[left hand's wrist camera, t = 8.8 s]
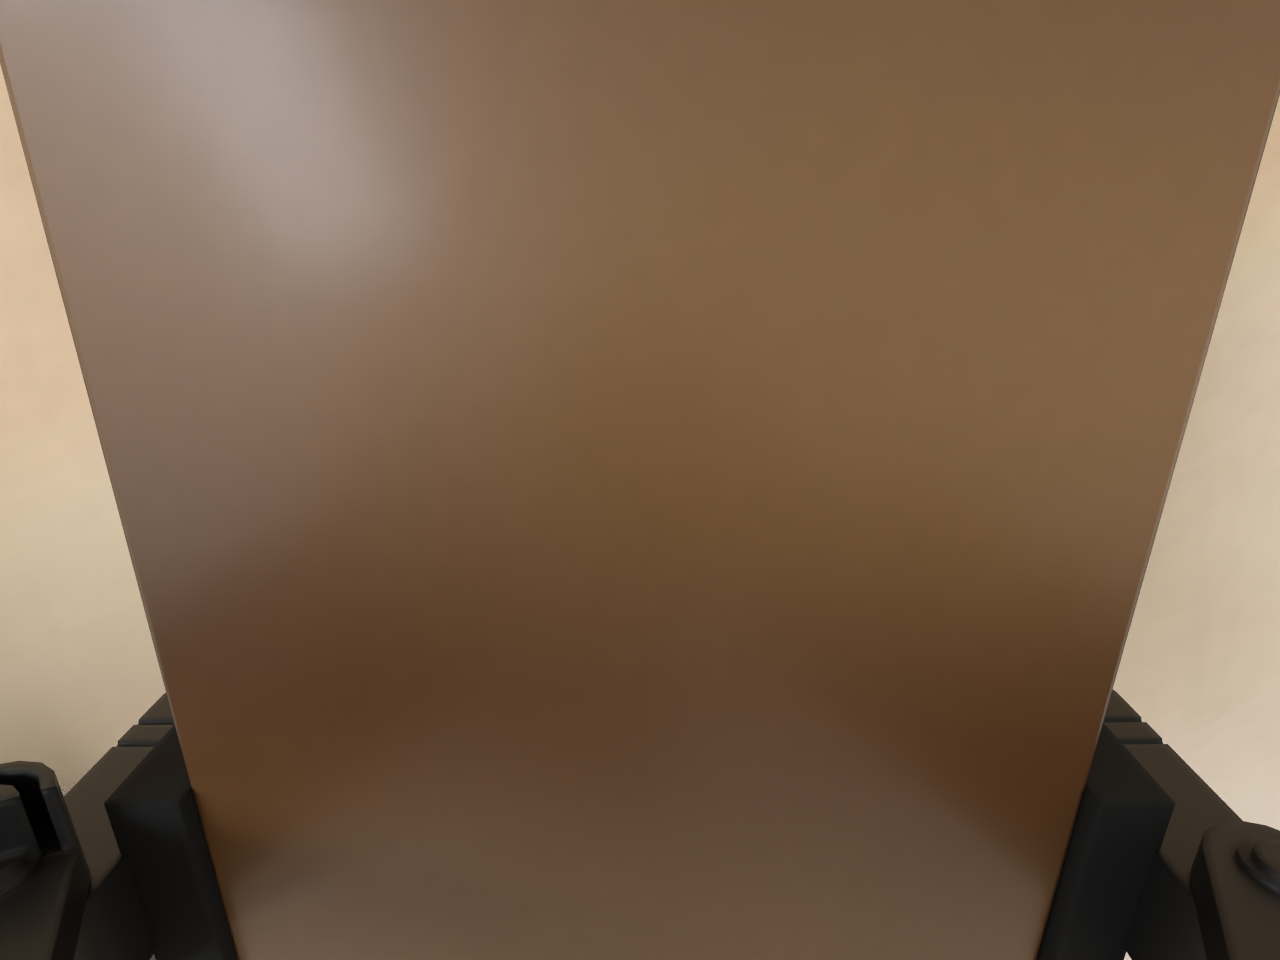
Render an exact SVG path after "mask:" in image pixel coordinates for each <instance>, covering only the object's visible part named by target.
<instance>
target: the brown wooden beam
mask: <svg viewBox="0 0 1280 960" xmlns="http://www.w3.org/2000/svg"><path fill="white" fill-rule="evenodd" d="M0 64H1V67H2V71H3V75H4V79H5V82H6V86H7V90H8V94H9V98H10V101H11V105H12V109H13V113H14V117H15V120H16V124H17V128H18V132H19V136H20V139H21V143H22V147H23V151H24V155H25V158H26V162H27V166H28V170H29V173H30V177H31V181H32V185H33V189H34V192H35V196H36V200H37V204H38V208H39V211H40V215H41V219H42V223H43V227H44V230H45V234H46V238H47V242H48V245H49V249H50V253H51V257H52V261H53V264H54V268H55V272H56V276H57V280H58V283H59V287H60V291H61V295H62V299H63V302H64V306H65V310H66V314H67V317H68V321H69V325H70V329H71V333H72V336H73V340H74V344H75V348H76V352H77V355H78V359H79V363H80V367H81V371H82V374H83V378H84V382H85V386H86V389H87V393H88V397H89V401H90V405H91V408H92V412H93V416H94V420H95V424H96V427H97V431H98V435H99V439H100V443H101V446H102V450H103V454H104V458H105V462H106V465H107V469H108V473H109V477H110V480H111V484H112V488H113V492H114V496H115V499H116V503H117V507H118V511H119V515H120V518H121V522H122V526H123V530H124V534H125V537H126V541H127V545H128V549H129V552H130V556H131V560H132V564H133V568H134V571H135V575H136V579H137V583H138V587H139V590H140V594H141V598H142V602H143V606H144V609H145V613H146V617H147V621H148V624H149V628H150V632H151V636H152V640H153V643H154V647H155V651H156V655H157V659H158V662H159V666H160V670H161V674H162V678H163V681H164V685H165V689H166V693H167V696H168V700H169V704H170V708H171V712H172V715H173V719H174V723H175V727H176V731H177V734H178V738H179V742H180V746H181V750H182V753H183V757H184V761H185V765H186V769H187V772H188V776H189V780H190V784H191V787H192V791H193V795H194V799H195V803H196V806H197V810H198V814H199V818H200V822H201V825H202V829H203V833H204V837H205V841H206V844H207V848H208V852H209V856H210V859H211V863H212V867H213V870H214V874H215V878H216V882H217V885H218V889H219V893H220V896H221V900H222V904H223V907H224V911H225V915H226V918H227V922H228V926H229V930H230V933H231V937H232V941H233V944H234V948H235V952H236V955H237V959H238V960H1036V959H1037V955H1038V952H1039V948H1040V945H1041V941H1042V938H1043V934H1044V930H1045V927H1046V923H1047V920H1048V916H1049V913H1050V909H1051V905H1052V902H1053V898H1054V895H1055V891H1056V888H1057V884H1058V881H1059V877H1060V873H1061V870H1062V866H1063V863H1064V859H1065V856H1066V852H1067V849H1068V845H1069V841H1070V838H1071V834H1072V831H1073V827H1074V824H1075V820H1076V817H1077V813H1078V809H1079V806H1080V802H1081V799H1082V795H1083V792H1084V788H1085V785H1086V781H1087V777H1088V774H1089V770H1090V767H1091V763H1092V760H1093V756H1094V753H1095V749H1096V745H1097V742H1098V738H1099V735H1100V731H1101V728H1102V724H1103V721H1104V717H1105V713H1106V710H1107V706H1108V703H1109V699H1110V696H1111V692H1112V689H1113V685H1114V681H1115V678H1116V674H1117V671H1118V667H1119V664H1120V660H1121V657H1122V653H1123V649H1124V646H1125V642H1126V639H1127V635H1128V632H1129V628H1130V625H1131V621H1132V617H1133V614H1134V610H1135V607H1136V603H1137V600H1138V596H1139V593H1140V589H1141V585H1142V582H1143V578H1144V575H1145V571H1146V568H1147V564H1148V561H1149V557H1150V553H1151V550H1152V546H1153V543H1154V539H1155V536H1156V532H1157V529H1158V525H1159V521H1160V518H1161V514H1162V511H1163V507H1164V504H1165V500H1166V497H1167V493H1168V489H1169V486H1170V482H1171V479H1172V475H1173V472H1174V468H1175V465H1176V461H1177V457H1178V454H1179V450H1180V447H1181V443H1182V440H1183V436H1184V433H1185V429H1186V425H1187V422H1188V418H1189V415H1190V411H1191V408H1192V404H1193V401H1194V397H1195V393H1196V390H1197V386H1198V383H1199V379H1200V376H1201V372H1202V369H1203V365H1204V361H1205V358H1206V354H1207V351H1208V347H1209V344H1210V340H1211V337H1212V333H1213V329H1214V326H1215V322H1216V319H1217V315H1218V312H1219V308H1220V305H1221V301H1222V297H1223V294H1224V290H1225V287H1226V283H1227V280H1228V276H1229V273H1230V269H1231V265H1232V262H1233V258H1234V255H1235V251H1236V248H1237V244H1238V241H1239V237H1240V233H1241V230H1242V226H1243V223H1244V219H1245V216H1246V212H1247V208H1248V205H1249V201H1250V198H1251V194H1252V191H1253V187H1254V184H1255V180H1256V176H1257V173H1258V169H1259V166H1260V162H1261V159H1262V155H1263V152H1264V148H1265V144H1266V141H1267V137H1268V134H1269V130H1270V127H1271V123H1272V120H1273V116H1274V112H1275V109H1276V105H1277V102H1278V98H1279V95H1280V0H0Z"/></svg>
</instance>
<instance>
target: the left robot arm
mask: <svg viewBox="0 0 1280 960" xmlns="http://www.w3.org/2000/svg"><path fill="white" fill-rule="evenodd" d="M1126 951H1127V953H1128V954H1129V956H1130V957H1131V959H1132V960H1280V831H1279V830H1276V829H1274V828H1271V827H1268V826H1266V825H1260V824H1255V823H1250V822H1245V821H1242V820H1241V819H1240V818H1239V817H1238V816H1237V815H1236V814H1235V813H1234V812H1233V810H1232V809H1231V808H1230V807H1229V806H1228V805H1227V804H1226V803H1225V802H1224V801H1223V800H1222V799H1221V798H1220V797H1219V796H1218V795H1217V794H1216V793H1215V792H1214V791H1213V790H1212V789H1211V788H1210V787H1209V786H1208V785H1207V784H1206V783H1205V782H1204V781H1203V780H1202V779H1201V778H1200V777H1199V776H1198V775H1197V774H1196V773H1195V772H1194V771H1193V770H1192V769H1191V768H1190V767H1189V766H1188V765H1187V764H1186V763H1185V762H1184V761H1183V759H1182V758H1181V757H1180V756H1179V755H1178V754H1177V753H1176V752H1175V751H1174V750H1173V749H1172V748H1171V747H1170V746H1169V745H1168V744H1163V743H1162V738H1161V737H1160V736H1159V735H1158V734H1157V733H1156V732H1155V731H1154V730H1153V729H1152V728H1151V727H1150V726H1149V725H1148V724H1147V723H1146V722H1142V721H1141V717H1140V716H1139V715H1138V714H1137V713H1136V712H1135V711H1134V710H1133V708H1132V707H1131V706H1130V705H1129V704H1128V703H1127V702H1126V701H1125V700H1124V699H1123V698H1122V697H1121V696H1120V695H1119V694H1118V693H1117V692H1116V691H1114V690H1112V692H1111V696H1110V699H1109V703H1108V706H1107V710H1106V713H1105V717H1104V721H1103V724H1102V728H1101V731H1100V735H1099V738H1098V742H1097V745H1096V749H1095V753H1094V756H1093V760H1092V763H1091V767H1090V770H1089V774H1088V777H1087V781H1086V785H1085V788H1084V792H1083V795H1082V799H1081V802H1080V806H1079V809H1078V813H1077V817H1076V820H1075V824H1074V827H1073V831H1072V834H1071V838H1070V841H1069V845H1068V849H1067V852H1066V856H1065V859H1064V863H1063V866H1062V870H1061V873H1060V877H1059V881H1058V884H1057V888H1056V891H1055V895H1054V898H1053V902H1052V905H1051V909H1050V913H1049V916H1048V920H1047V923H1046V927H1045V930H1044V934H1043V938H1042V941H1041V945H1040V948H1039V952H1038V955H1037V959H1036V960H1124V957H1125V954H1126ZM0 960H238V959H237V955H236V952H235V948H234V944H233V941H232V937H231V933H230V930H229V926H228V922H227V918H226V915H225V911H224V907H223V904H222V900H221V896H220V893H219V889H218V885H217V882H216V878H215V874H214V870H213V867H212V863H211V859H210V856H209V852H208V848H207V844H206V841H205V837H204V833H203V829H202V825H201V822H200V818H199V814H198V810H197V806H196V803H195V799H194V795H193V791H192V787H191V784H190V780H189V776H188V772H187V769H186V765H185V761H184V757H183V753H182V750H181V746H180V742H179V738H178V734H177V731H176V727H175V723H174V719H173V715H172V712H171V708H170V704H169V700H168V696H167V693H165V694H164V695H163V696H162V697H161V698H160V699H159V700H158V701H157V702H156V703H155V704H154V705H153V706H152V707H151V708H150V709H149V710H148V711H147V712H146V713H145V714H144V715H143V716H142V717H141V718H140V719H139V723H138V725H133V726H132V727H131V728H130V729H129V731H128V732H127V733H126V734H125V735H124V736H123V737H122V738H121V739H120V740H119V741H118V745H117V747H112V748H111V749H110V750H109V751H108V752H107V753H106V754H105V755H104V756H103V757H102V758H101V759H100V760H99V761H98V762H97V763H96V764H95V765H94V766H93V767H92V768H91V770H90V771H89V772H88V773H87V774H86V775H85V776H84V777H83V778H82V779H81V780H80V781H79V782H78V783H77V784H76V785H75V786H74V787H73V788H72V789H71V790H70V791H69V792H68V793H67V794H66V795H65V796H64V797H63V794H62V792H61V789H60V786H59V783H58V780H57V778H56V775H55V772H54V771H53V770H52V769H50V768H49V767H47V766H46V765H44V764H43V763H38V762H26V761H16V762H10V763H5V764H0Z"/></svg>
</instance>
